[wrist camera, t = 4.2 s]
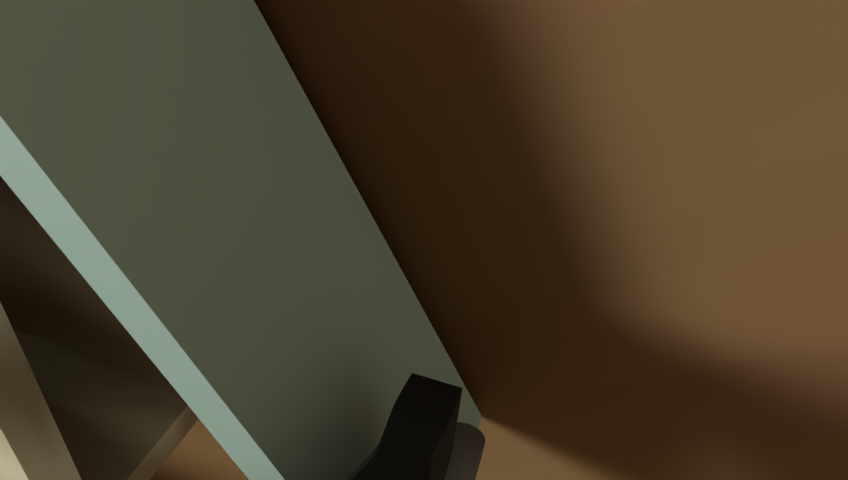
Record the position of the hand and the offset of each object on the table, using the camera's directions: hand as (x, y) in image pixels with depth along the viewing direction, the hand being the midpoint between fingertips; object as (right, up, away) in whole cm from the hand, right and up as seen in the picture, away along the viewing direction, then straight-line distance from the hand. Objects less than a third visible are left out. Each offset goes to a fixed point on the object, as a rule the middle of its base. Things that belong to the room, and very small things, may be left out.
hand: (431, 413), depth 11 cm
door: (-2, +5, +2) cm, 6 cm away
